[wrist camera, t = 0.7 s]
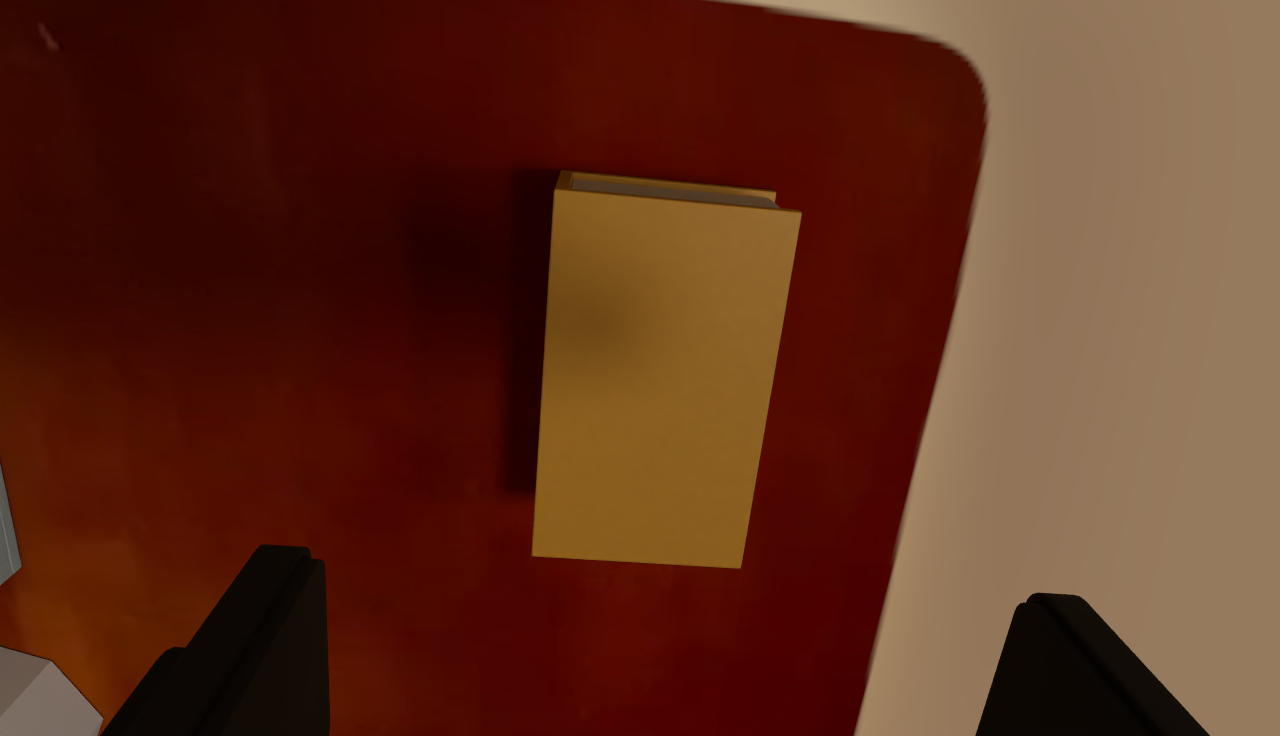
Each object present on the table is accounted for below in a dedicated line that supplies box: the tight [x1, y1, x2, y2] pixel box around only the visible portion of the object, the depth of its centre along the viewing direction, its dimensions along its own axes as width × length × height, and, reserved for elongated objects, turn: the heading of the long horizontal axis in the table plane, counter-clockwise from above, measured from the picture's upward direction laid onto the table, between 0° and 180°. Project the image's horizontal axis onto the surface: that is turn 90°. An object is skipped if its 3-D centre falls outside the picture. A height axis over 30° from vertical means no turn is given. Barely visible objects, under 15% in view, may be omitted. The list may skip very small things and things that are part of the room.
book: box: [532, 170, 802, 568], centre depth 26 cm, size 12×7×4 cm, turn 174°
